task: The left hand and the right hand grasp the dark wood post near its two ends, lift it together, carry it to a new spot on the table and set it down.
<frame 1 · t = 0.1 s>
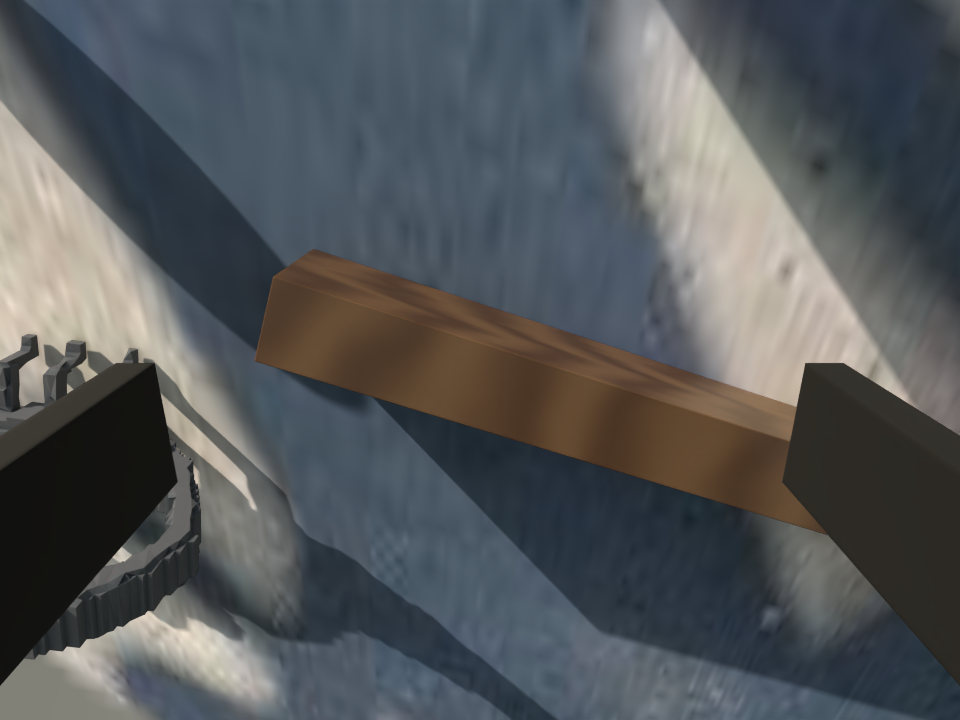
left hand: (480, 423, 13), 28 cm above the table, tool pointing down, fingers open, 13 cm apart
post: (699, 411, 43), on the table
toy: (71, 418, 43), on the table
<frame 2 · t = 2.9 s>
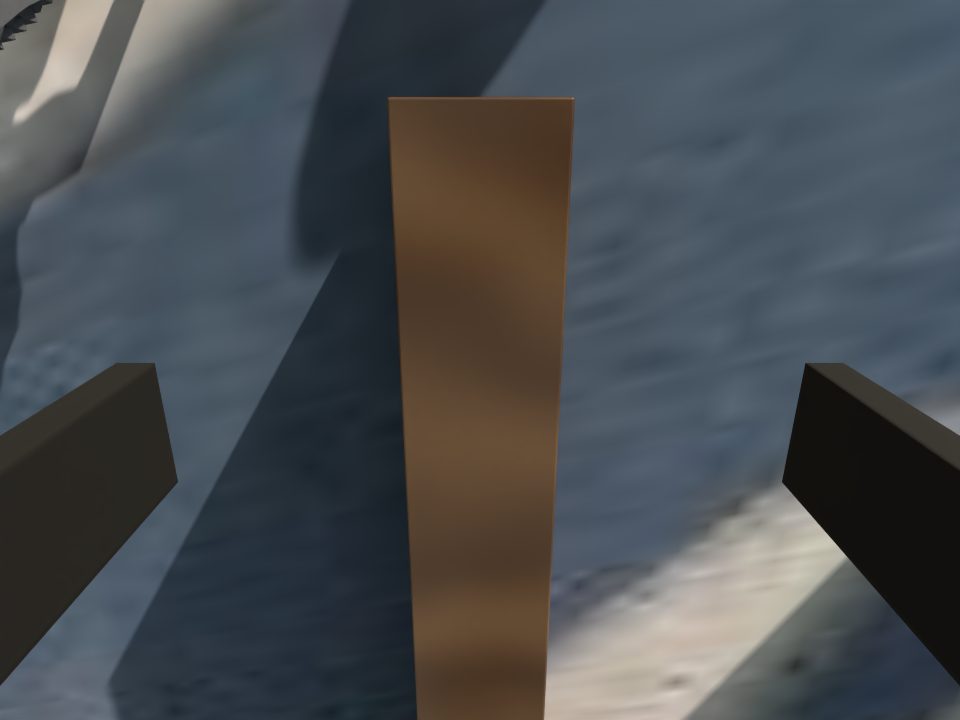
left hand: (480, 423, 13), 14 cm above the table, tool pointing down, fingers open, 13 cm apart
post: (480, 669, 34), on the table, touching right hand
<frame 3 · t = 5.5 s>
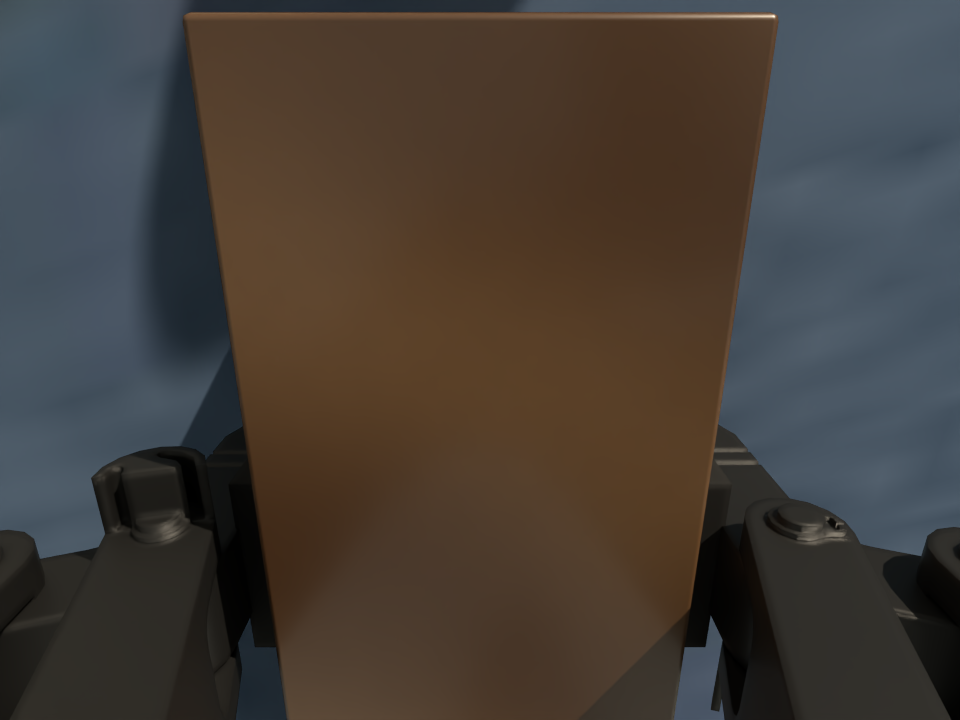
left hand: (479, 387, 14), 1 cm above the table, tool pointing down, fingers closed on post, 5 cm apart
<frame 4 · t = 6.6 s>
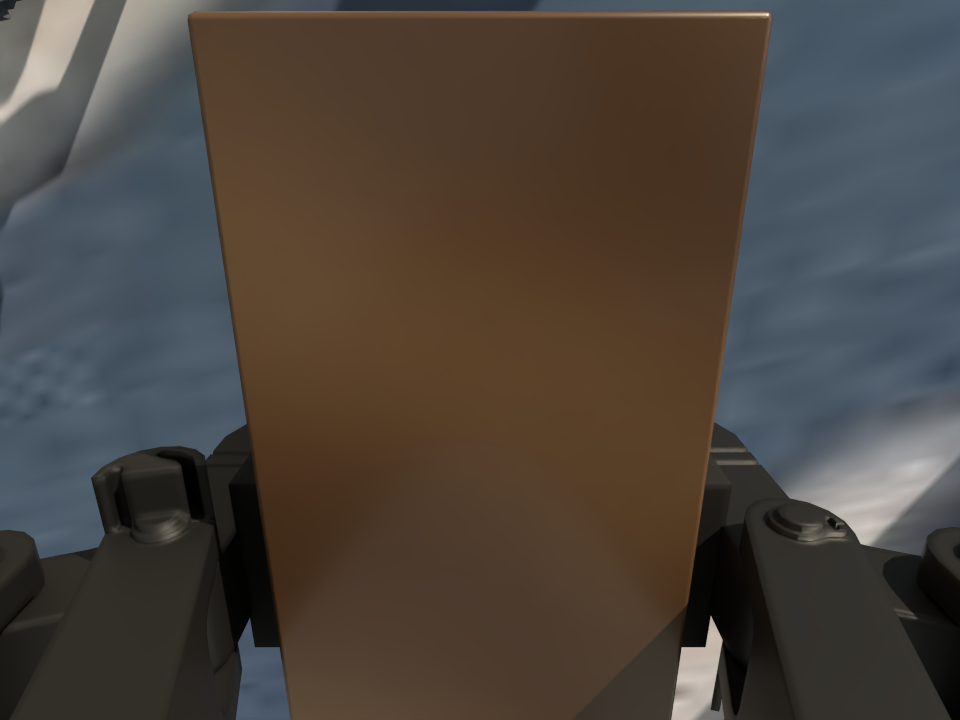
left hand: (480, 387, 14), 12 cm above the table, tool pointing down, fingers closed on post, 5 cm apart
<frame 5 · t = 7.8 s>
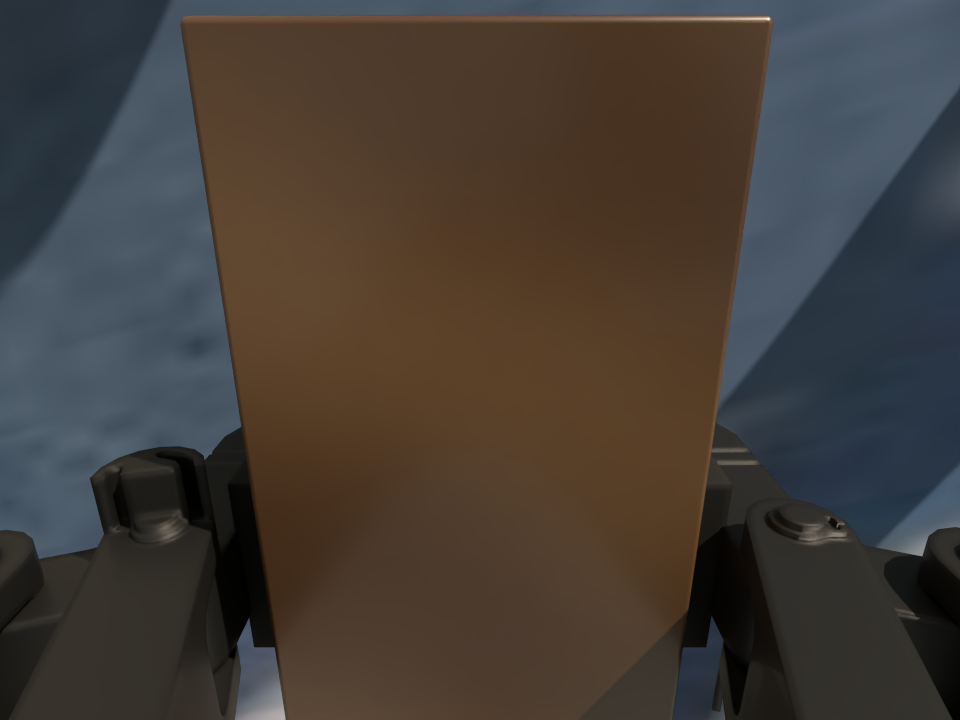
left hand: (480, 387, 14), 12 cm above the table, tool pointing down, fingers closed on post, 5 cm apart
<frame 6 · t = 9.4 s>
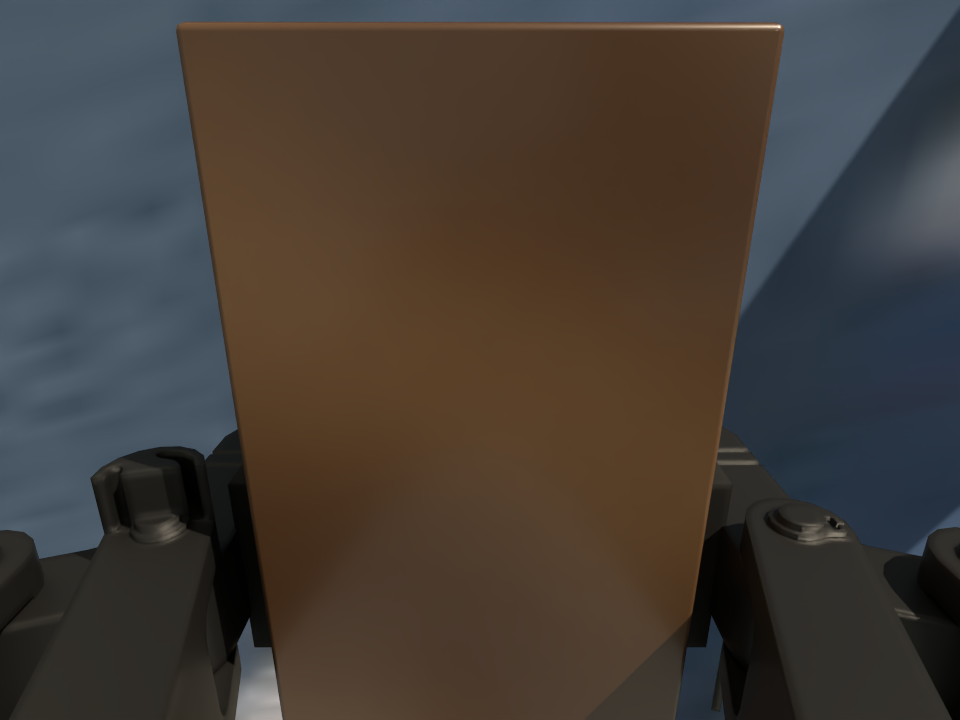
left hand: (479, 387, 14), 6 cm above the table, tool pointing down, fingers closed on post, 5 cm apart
when the left hand's fingers open (2 cm above the table, at t = 10.4 s): post moves 1 cm, on the table.
when the right hand's fingers open (4 cm above the table, at t = 10.5 s): post stays where it is, on the table.
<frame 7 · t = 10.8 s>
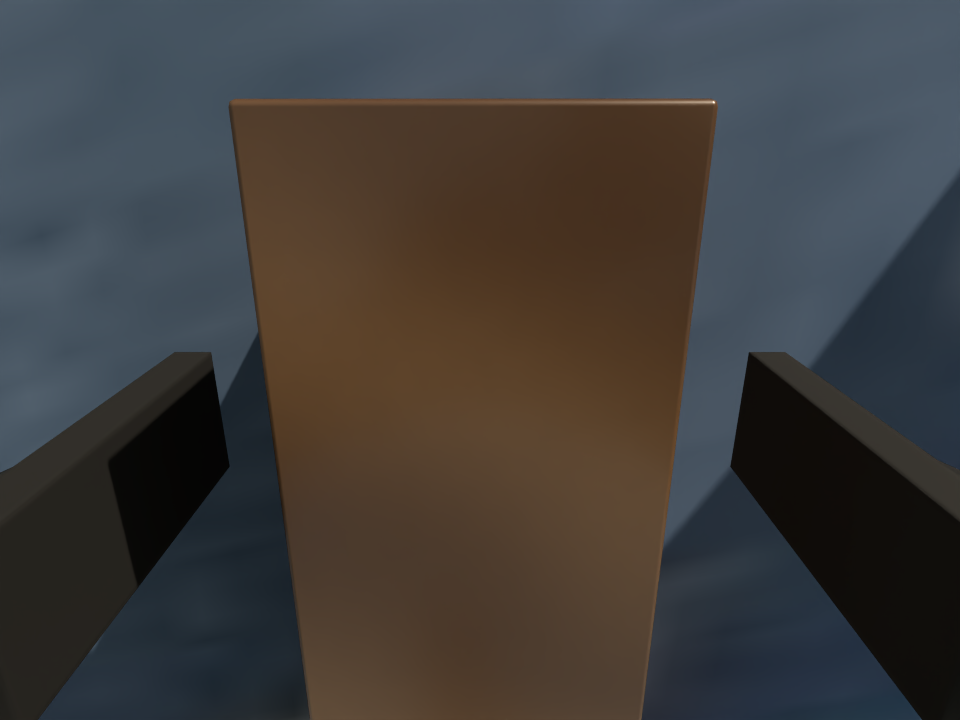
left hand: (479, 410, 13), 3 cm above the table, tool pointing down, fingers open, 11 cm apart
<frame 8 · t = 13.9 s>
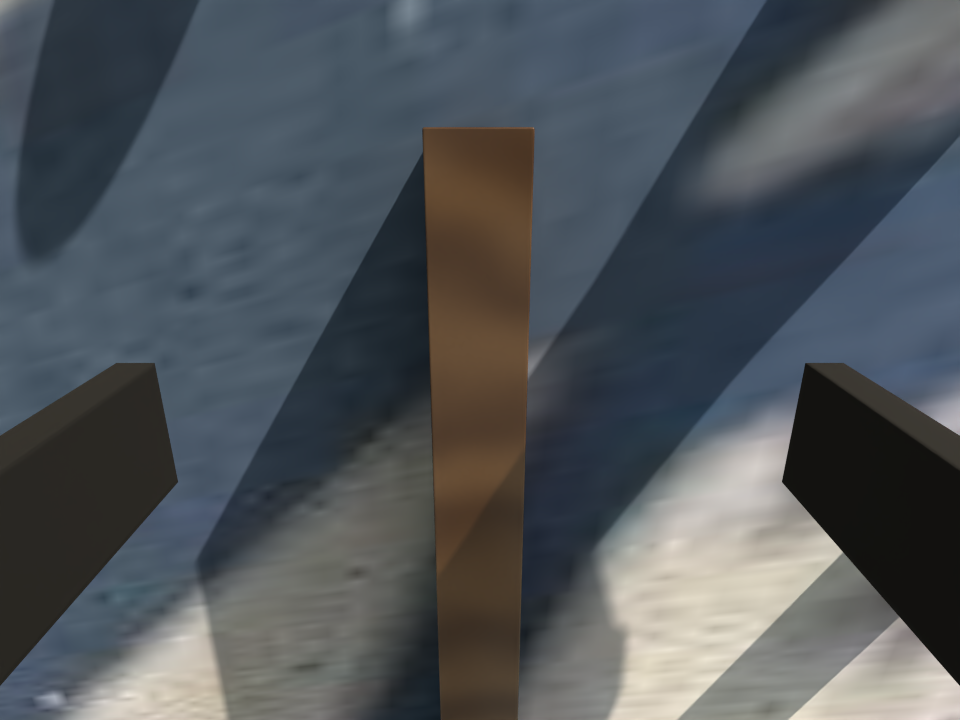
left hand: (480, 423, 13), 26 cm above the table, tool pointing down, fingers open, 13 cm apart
post: (479, 546, 45), on the table
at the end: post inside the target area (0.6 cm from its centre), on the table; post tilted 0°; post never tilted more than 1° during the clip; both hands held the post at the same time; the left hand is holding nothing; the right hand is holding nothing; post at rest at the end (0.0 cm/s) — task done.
